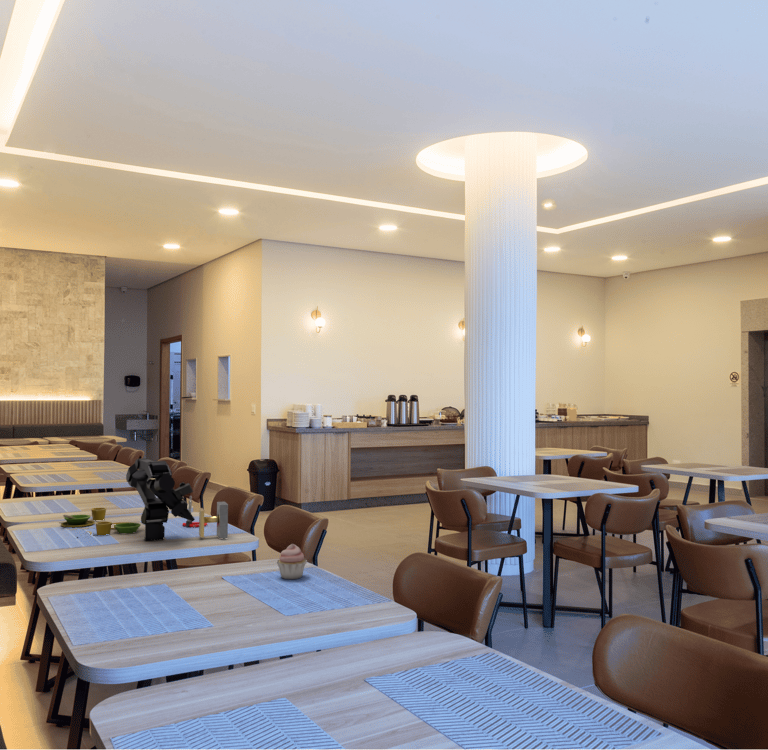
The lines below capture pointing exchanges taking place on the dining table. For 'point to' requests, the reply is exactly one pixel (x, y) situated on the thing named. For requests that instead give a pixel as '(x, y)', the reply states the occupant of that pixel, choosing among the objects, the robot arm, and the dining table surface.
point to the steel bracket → (222, 520)
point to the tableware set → (98, 523)
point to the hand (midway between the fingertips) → (193, 520)
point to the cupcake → (291, 563)
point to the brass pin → (205, 521)
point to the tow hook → (188, 522)
